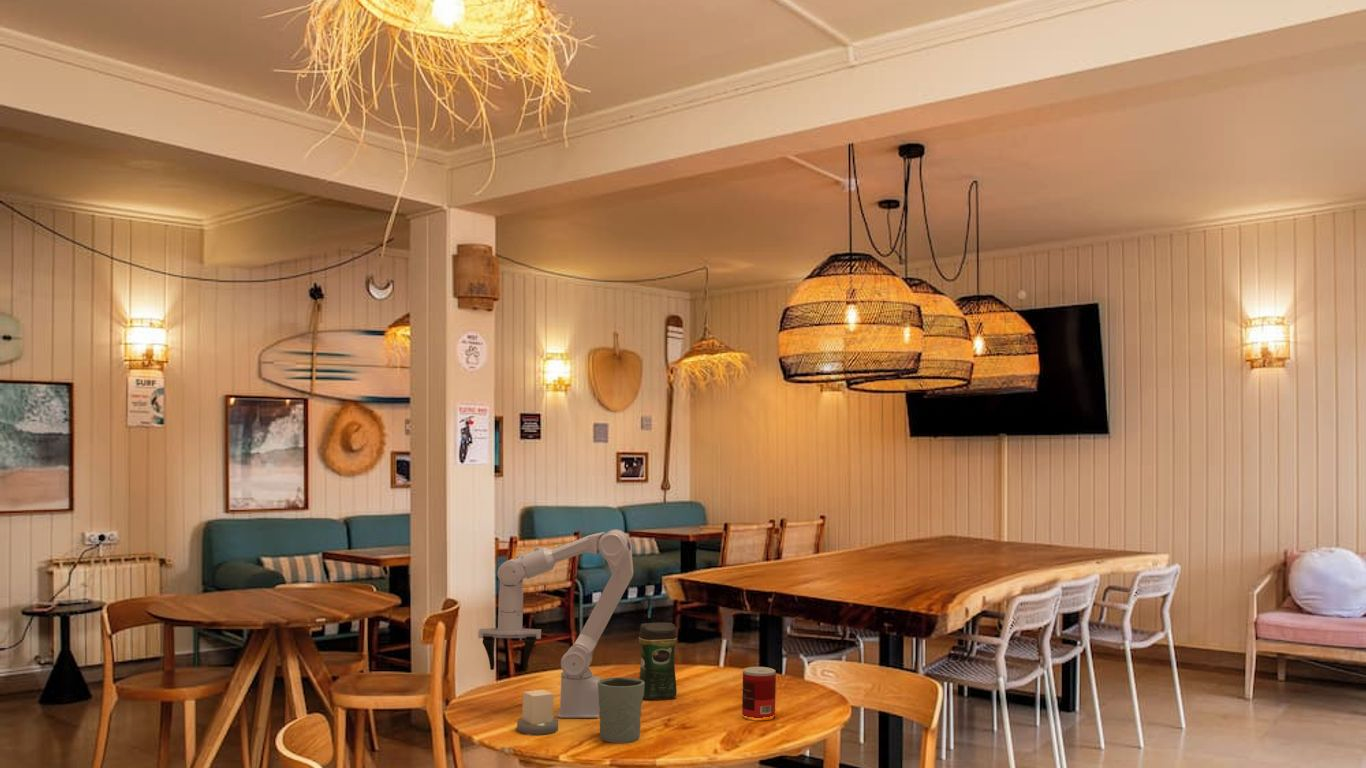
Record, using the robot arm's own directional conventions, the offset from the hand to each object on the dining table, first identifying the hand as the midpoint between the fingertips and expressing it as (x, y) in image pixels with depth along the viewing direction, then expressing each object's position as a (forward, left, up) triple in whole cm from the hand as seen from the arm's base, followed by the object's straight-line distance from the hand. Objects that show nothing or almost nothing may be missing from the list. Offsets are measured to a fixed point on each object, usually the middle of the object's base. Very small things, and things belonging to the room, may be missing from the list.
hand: (508, 669), depth 250 cm
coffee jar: (-36, -16, -10) cm, 41 cm away
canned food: (-59, +4, -10) cm, 60 cm away
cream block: (-8, +16, -8) cm, 19 cm away
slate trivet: (-8, +16, -10) cm, 20 cm away
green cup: (-26, +22, -10) cm, 36 cm away
